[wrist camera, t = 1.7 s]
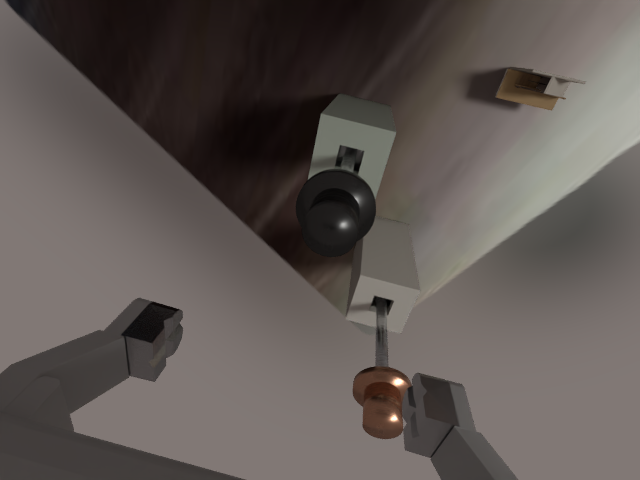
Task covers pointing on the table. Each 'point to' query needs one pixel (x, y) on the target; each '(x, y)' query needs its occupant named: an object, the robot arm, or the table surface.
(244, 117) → the table surface
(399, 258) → the block
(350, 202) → the black plunger
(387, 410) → the terracotta plunger
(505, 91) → the architectural model
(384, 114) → the block
